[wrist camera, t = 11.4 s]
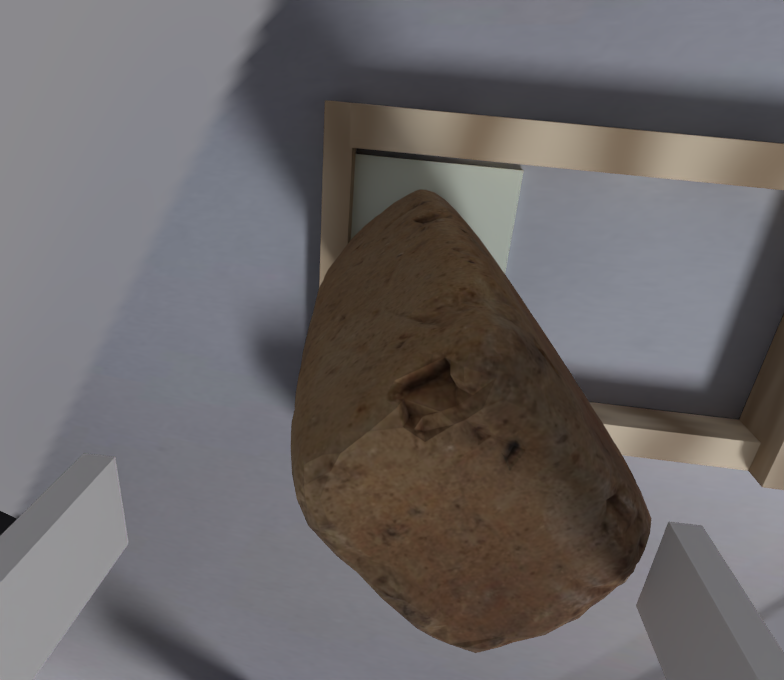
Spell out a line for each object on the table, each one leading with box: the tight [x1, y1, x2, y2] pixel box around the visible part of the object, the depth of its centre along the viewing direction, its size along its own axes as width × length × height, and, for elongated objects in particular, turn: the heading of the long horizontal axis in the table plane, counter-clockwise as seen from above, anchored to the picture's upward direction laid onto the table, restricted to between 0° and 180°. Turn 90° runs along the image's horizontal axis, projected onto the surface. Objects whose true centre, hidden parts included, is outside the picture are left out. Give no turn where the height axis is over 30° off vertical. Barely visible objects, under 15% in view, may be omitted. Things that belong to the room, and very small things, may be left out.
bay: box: [319, 101, 784, 490], centre depth 29 cm, size 28×18×4 cm, turn 85°
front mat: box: [351, 154, 523, 274], centre depth 31 cm, size 9×13×1 cm
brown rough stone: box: [291, 189, 651, 653], centre depth 21 cm, size 11×8×20 cm
